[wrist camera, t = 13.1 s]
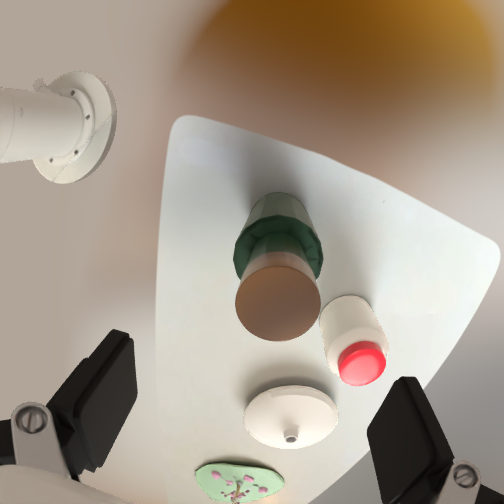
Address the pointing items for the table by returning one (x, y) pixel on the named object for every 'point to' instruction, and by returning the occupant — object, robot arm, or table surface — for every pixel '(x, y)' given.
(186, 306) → the table surface
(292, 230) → the bottle
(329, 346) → the pill bottle
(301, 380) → the table surface
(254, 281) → the stopper
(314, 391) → the vase
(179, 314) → the table surface
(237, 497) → the plant
